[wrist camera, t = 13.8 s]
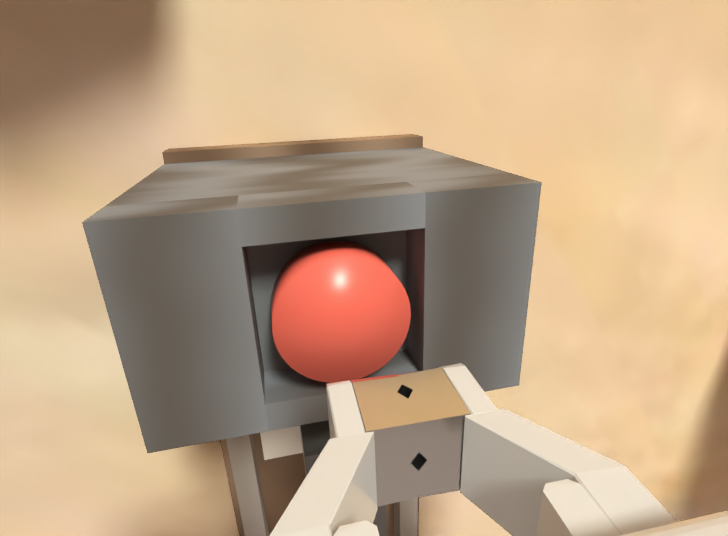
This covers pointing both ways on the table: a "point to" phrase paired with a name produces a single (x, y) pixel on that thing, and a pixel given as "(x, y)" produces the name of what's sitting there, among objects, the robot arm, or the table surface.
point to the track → (262, 266)
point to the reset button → (338, 312)
